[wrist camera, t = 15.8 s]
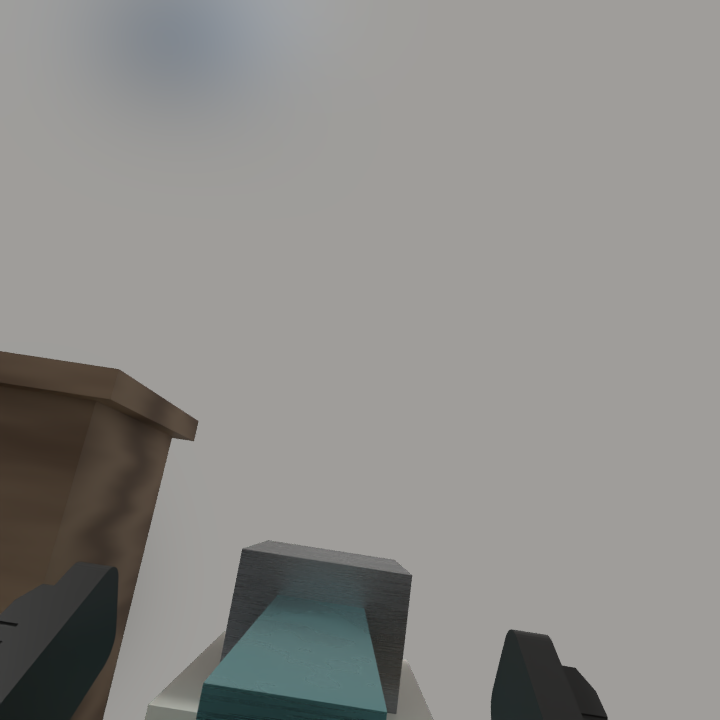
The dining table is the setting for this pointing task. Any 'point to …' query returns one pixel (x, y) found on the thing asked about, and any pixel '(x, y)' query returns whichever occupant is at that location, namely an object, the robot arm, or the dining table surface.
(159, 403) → the tall walnut stand
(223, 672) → the bar
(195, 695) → the low cream stand
